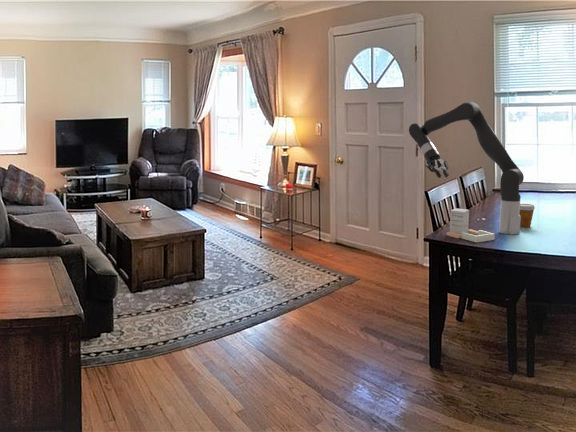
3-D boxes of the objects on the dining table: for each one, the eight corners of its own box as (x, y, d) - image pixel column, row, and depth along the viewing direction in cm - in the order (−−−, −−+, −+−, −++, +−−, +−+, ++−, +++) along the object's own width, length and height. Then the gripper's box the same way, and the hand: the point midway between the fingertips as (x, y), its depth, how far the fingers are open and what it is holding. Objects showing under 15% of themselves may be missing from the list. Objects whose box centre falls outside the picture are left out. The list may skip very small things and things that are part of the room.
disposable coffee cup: (536, 226, 302) (537, 204, 300) (529, 229, 296) (531, 207, 293) (518, 224, 309) (520, 202, 307) (511, 226, 302) (513, 205, 300)
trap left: (462, 237, 278) (462, 234, 278) (457, 238, 277) (457, 235, 277) (451, 234, 285) (451, 231, 285) (446, 235, 284) (446, 232, 284)
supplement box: (454, 231, 292) (455, 208, 290) (468, 233, 288) (469, 209, 285) (449, 234, 287) (450, 210, 284) (462, 235, 282) (464, 211, 280)
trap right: (481, 235, 284) (481, 232, 283) (477, 235, 282) (477, 232, 282) (470, 232, 291) (470, 229, 290) (466, 232, 289) (466, 229, 289)
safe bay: (494, 239, 273) (494, 233, 273) (476, 242, 268) (476, 236, 268) (479, 235, 282) (479, 229, 282) (461, 238, 277) (461, 232, 277)
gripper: (422, 148, 299) (436, 173, 291) (443, 147, 305) (457, 171, 297) (416, 157, 305) (429, 182, 296) (436, 156, 311) (450, 180, 302)
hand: (443, 176), depth 297 cm, fingers open, 4 cm apart
